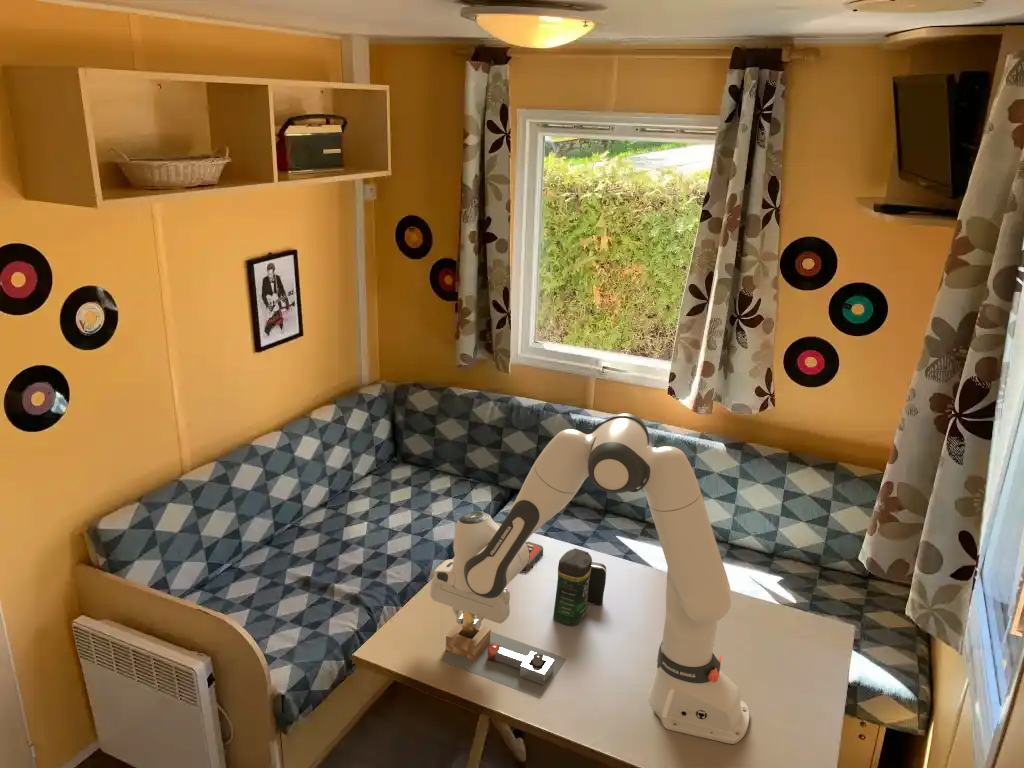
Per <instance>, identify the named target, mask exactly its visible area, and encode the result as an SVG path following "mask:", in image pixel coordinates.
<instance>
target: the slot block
mask: <svg viewBox="0 0 1024 768" xmlns="http://www.w3.org/2000/svg"><path fill="white" fill-rule="evenodd" d="M491 630H492V628H489V627H487V626H484V625H482V624H481V627H480V628H479V629H478V630H476V629H474V638H473V639H470V638H467V637H464V636H462V624H459V623H457V624H456V625H455V626H454V627H452V629H451V630H450V631H449V632H448V633H447V634H446V637H445V651H448V652H449V651H450V652H453V653H455V654H458V655H461V656H463V657H466V658H469V659H472V660H474V661H475V659H476V658H477V657H478V656H479V655H480V654H481V652H482V651H483V650H484V649H485V648H486V647H487V645H488V644H489V643H490V634H491V632H492V631H491Z"/></svg>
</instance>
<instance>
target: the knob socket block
mask: <svg viewBox="0 0 1024 768" xmlns="http://www.w3.org/2000/svg"><path fill="white" fill-rule="evenodd" d="M534 654H536V653H534V652H532V651H531V653H530V654H529V655H528V656H527V657H526V656H523V655H520V654H518V653H515V652H512V651H509V650H507V649H504V648H501V647H500V646H499V644H497V643H490V644H489V645H488V660H490V661H499V662H502V663H505V664H507V665H510V666H513V667H516V668H518V669H520V677H523V678H525V679H528V680H531V681H533V682H536V683H539V684H541V685H544V683H545V682H546V680H547V679H548V678H549V676H550V675H551V673H552V672H553V670H554V659H551V658H549V657H546V656H543V666H542V669H539V668H537V667H534V666H532V662H533V655H534Z"/></svg>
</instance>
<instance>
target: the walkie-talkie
mask: <svg viewBox="0 0 1024 768" xmlns="http://www.w3.org/2000/svg"><path fill="white" fill-rule="evenodd" d="M526 543H527V545H528V548H529V552H530V559H529V562H528V564H527V565H526V566H525V567H524V568H523V569H522V570H521V571H526V572H529V571H530V570H531V568H532V567H533V566H535V565H536V563H538V561H539V560H540V559H541V558H542V557H543V555H544V547H543V545H541V544H538V543H534V542H531V541H526Z"/></svg>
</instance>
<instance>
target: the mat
mask: <svg viewBox="0 0 1024 768" xmlns="http://www.w3.org/2000/svg"><path fill="white" fill-rule="evenodd" d="M490 643H497V644H499V646H500V647H501V648H504V649H507V650H509V651H512V652H515V653H518V654H520V655H523V656H526V657H527V656H528V655H529V654H530V653H531V651H532V652H534V653H540V654H542V655H543V656H546V657H549V658H551V659H554V670H553V672H552V673H551V675H550V676H549V678H548V679H547V680H546V682H545V683H544V685H541V684H539V683H536V682H533V681H531V680H528V679H525V678H523V677H520V669H518V668H516V667H513V666H510V665H507V664H505V663H502V662H499V661H490V660H488V645H489V644H490ZM490 643H489V644H488V645H487V647H486V648H485V649H484V650H483V651H482V652H481V654H480V655H479V656H478V657H477V658H476V659H475V661H474V660H472V659H469V658H466V657H463V656H461V655H458V654H455V653H453V652H450V651H448V652H447V653H446V654H445V655H444V656H443V657H442V659H441V660H440V661H441V662H443V663H446V664H448V665H452V666H454V667H456V668H459V669H462V670H463V671H464V670H465V671H467V672H470V673H472V674H475V675H478V676H480V677H483V678H484V679H485V678H486V679H488V680H491V681H492V682H496V683H497V684H498V683H499V684H501V685H504V686H506V687H508V688H511V689H514V690H517V691H519V692H522V693H524V694H526V695H527V694H528V695H530V696H532V697H535V698H538V699H541V698H542V696H543V695H544V693H545V692H546V691H547V688H549V686H550V684H551V683H552V682H553V680H554V679H555V677H556V675H557V674H558V673H559V671H560V670H561V668H562V667H563V665H564V663H565V662H566V661H567V659H568V658H567V657H565V656H564V657H563V656H561V655H558V654H555V653H553V652H550V651H547V650H544V649H541V648H538V647H536V646H533V645H531V644H527V643H524V642H521V641H519V640H516V639H513V638H511V637H508V636H505V635H503V634H502V635H501V634H499V633H497V632H494V631H491V634H490Z"/></svg>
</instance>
